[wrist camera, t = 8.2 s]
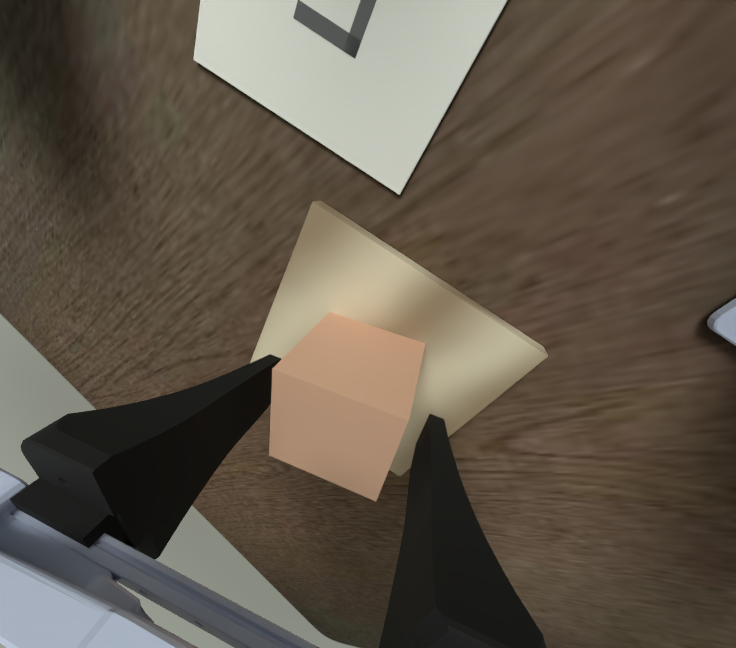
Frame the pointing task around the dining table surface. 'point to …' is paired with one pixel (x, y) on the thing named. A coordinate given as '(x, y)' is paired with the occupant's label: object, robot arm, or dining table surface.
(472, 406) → the birch pad
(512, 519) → the dining table surface
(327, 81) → the white card
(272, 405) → the terracotta block
